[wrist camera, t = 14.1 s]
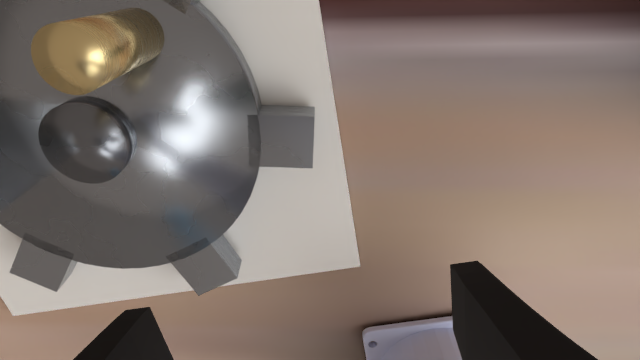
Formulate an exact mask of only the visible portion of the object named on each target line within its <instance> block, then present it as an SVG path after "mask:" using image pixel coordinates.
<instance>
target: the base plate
mask: <svg viewBox="0 0 640 360" xmlns="http://www.w3.org/2000/svg"><path fill="white" fill-rule="evenodd" d="M200 2H201V3H202V4H203V5H204V6H205V7H206V8H207V9H208V10H209V11H211V12H212V13H213V15H214V16H215V17H216V18H217V19H218V20H219V21H220V23H221V24H222V25H223V26H224V27H225V28H226V30H227V31H228V32H229V34H230V35H231V37H232V38H233V39H234V41H235V42H236V44H237V45H238V47H239V48H240V50H241V52H242V53H243V55H244V57H245V59H246V61H247V63H248V65H249V67H250V69H251V71H252V74H253V77H254V79H255V82H256V85H257V88H258V91H259V95H260V99H261V104H262V105H281V106H308V107H315V119H314V146H313V168H283V167H260V169H259V172H258V176H257V179H256V182H255V185H254V188H253V191H252V193H251V196H250V198H249V200H248V202H247V204H246V206H245V207H244V209H243V211H242V213H241V214H240V215H239V217H238V218H237V219H236V221H235V222H234V223H233V225H232V226H231V227H230V228H229V229H228V230H227V231H226V232H225V233H224V234H223V235H224V237H225V238H226V239H227V241H228V242H229V243H230V245H231V246H232V247H233V249H234V250H235V251H236V253H237V254H238V256H239V257H240V258H241V260H242V262H241V266H240V270H239V274H238V278H237V279H235V280H232V281H230V282H228V283H226V284H223V285H221V286H227V285H234V284H241V283H248V282H255V281H262V280H269V279H276V278H283V277H290V276H297V275H304V274H312V273H319V272H326V271H333V270H340V269H347V268H354V267H360V260H359V254H358V247H357V241H356V235H355V228H354V222H353V216H352V209H351V203H350V196H349V190H348V184H347V177H346V171H345V164H344V158H343V152H342V145H341V139H340V133H339V126H338V120H337V113H336V107H335V101H334V94H333V88H332V82H331V75H330V69H329V62H328V56H327V50H326V43H325V37H324V31H323V24H322V18H321V11H320V5H319V0H200ZM21 241H22V238H20V237H19V236H17V235H15V234H14V233H12V232H10V231H9V230H8V229H6V228H5V227H4V226H2V225H1V224H0V296H1V298H2V299H3V301H4V303H5V304H6V306H7V307H8V309H9V310H10V312H11V313H12V315H13V316H17V315H24V314H31V313H38V312H45V311H52V310H59V309H66V308H73V307H80V306H87V305H94V304H101V303H108V302H115V301H122V300H129V299H136V298H143V297H150V296H157V295H164V294H171V293H178V292H185V291H192V290H193V288H192V287H191V286H190V285H189V284H188V283H187V281H186V280H185V279H184V278H183V277H182V275H181V274H180V273H179V272H178V271H177V269H176V268H175V267H174V266H173V265H172V264H171V263H168V264H164V265H160V266H153V267H146V268H129V269H121V268H108V267H100V266H94V265H89V264H84V263H80V262H77V264H76V266H75V268H74V270H73V272H72V274H71V275H70V276H69V278H68V279H67V280H66V281H65V283H64V284H63V285H62V286H61V287H60V289H59V290H58V291H57V292H55V291H53V290H50V289H48V288H45V287H43V286H41V285H38V284H36V283H33V282H31V281H28V280H26V279H24V278H21V277H19V276H16V275H14V274H11V273H9V272H10V270H11V267H12V264H13V262H14V259H15V257H16V254H17V252H18V249H19V247H20V244H21ZM219 287H220V286H219Z"/></svg>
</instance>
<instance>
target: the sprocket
mask: <svg viewBox="0 0 640 360" xmlns="http://www.w3.org/2000/svg"><path fill="white" fill-rule="evenodd" d="M314 119H315V107H308V106H281V105H262V104H261V99H260V95H259V91H258V88H257V85H256V82H255V79H254V77H253V74H252V71H251V69H250V67H249V65H248V63H247V61H246V59H245V57H244V55H243V53H242V52H241V50H240V48H239V47H238V45H237V44H236V42H235V41H234V39H233V38H232V37H231V35H230V34H229V32H228V31H227V30H226V28H225V27H224V26H223V25H222V24H221V23H220V21H219V20H218V19H217V18H216V17H215V16H214V15H213V13H212V12H211V11H209V10H208V9H207V8H206V7H205V6H204V5H203V4H202V3H201V2H200V0H0V210H1V211H0V224H1V225H2V226H4V227H5V228H6V229H8V230H9V231H10V232H12V233H14V234H15V235H17V236H19V237H20V238H22V241H21V244H20V247H19V249H18V252H17V254H16V257H15V259H14V262H13V264H12V267H11V270H10V272H9V273H11V274H14V275H16V276H19V277H21V278H24V279H26V280H28V281H31V282H33V283H36V284H38V285H41V286H43V287H45V288H48V289H50V290H53V291H55V292H57V291H58V290H59V289H60V287H61V286H62V285H63V284H64V283H65V281H66V280H67V279H68V278H69V276H70V275H71V274H72V272H73V270H74V268H75V266H76V264H77V262H80V263H84V264H89V265H94V266H100V267H108V268H121V269H129V268H146V267H153V266H160V265H164V264H168V263H171V264H172V265H173V266H174V267H175V268H176V269H177V271H178V272H179V273H180V274H181V275H182V277H183V278H184V279H185V280H186V281H187V283H188V284H189V285H190V286H191V287H192V288H193V290H194V291H195V292H196V293H197V294H198V296H199V295H201V294H203V293H205V292H208V291H210V290H212V289H214V288H217V287H219V286H221V285H223V284H226V283H228V282H230V281H232V280H235V279H237V278H238V274H239V270H240V266H241V262H242V260H241V258H240V257H239V256H238V254H237V253H236V251H235V250H234V249H233V247H232V246H231V245H230V243H229V242H228V241H227V239H226V238H225V237H224V235H223V234H224V233H225V232H226V231H227V230H228V229H229V228H230V227H231V226H232V225H233V223H234V222H235V221H236V219H237V218H238V217H239V215H240V214H241V213H242V211H243V209H244V207H245V206H246V204H247V202H248V200H249V198H250V196H251V193H252V191H253V188H254V185H255V182H256V179H257V176H258V172H259V169H260V167H283V168H313V146H314Z"/></svg>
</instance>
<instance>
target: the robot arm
mask: <svg viewBox="0 0 640 360" xmlns="http://www.w3.org/2000/svg"><path fill="white" fill-rule="evenodd" d="M450 269H451V294H452V316H448V317H441V318H433V319H426V320H418V321H411V322H403V323H396V324H388V325H381V326H373V327H368V328H366V329H364V331H363V332H362V336H363V343H364V348H365V354H366V360H598V359H596V358H595V357H594V356H592V355H591V354H590V353H588V352H587V351H586V350H584V349H583V348H581V347H580V346H579V345H577V344H576V343H575V342H573V341H572V340H571V339H569V338H568V337H567V336H566V335H564V334H563V333H562V332H560V331H559V330H558V329H557V328H555V327H554V326H553V325H552V324H550V323H549V322H548V321H547V320H546V319H544V318H543V317H542V316H541V315H539V314H538V313H537V312H536V311H534V310H533V309H532V308H531V307H530V306H528V305H527V304H526V303H525V302H524V301H523V300H521V299H520V298H519V297H518V296H517V295H516V294H514V293H513V292H512V291H511V290H510V289H509V288H508V287H506V286H505V285H504V284H503V283H502V282H501V281H500V280H499V279H498V278H496V277H495V276H494V275H493V274H492V273H491V272H490V271H489V270H488V269H486V268H485V267H484V266H483V265H482V264H481V263H479V262H478V261H473V262H465V263H458V264H451V265H450ZM371 341H375V342H371ZM73 360H173V357H172V355H171V353H170V351H169V349H168V346H167V344H166V342H165V340H164V338H163V335H162V333H161V331H160V329H159V327H158V324H157V322H156V320H155V318H154V316H153V313H152V311H151V309H150V307H146V308H138V309H131V310H125V311H124V312H123V313H122V314H121V315H120V316H118V317H117V318H116V319H115V320H114V321H113V322H112V323H111V324H110V325H109V326H107V327H106V328H105V329H104V330H103V331H102V332H101V333H100V334H99V335H98V336H97V337H96V338H95V339H94V340H93V341H92V342H91V343H90V344H89V345H88V346H87V347H86V348H85V349H84V350H83V351H82V352H81V353H80V354H78V355H77V356H76V357H75V358H74V359H73Z"/></svg>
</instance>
